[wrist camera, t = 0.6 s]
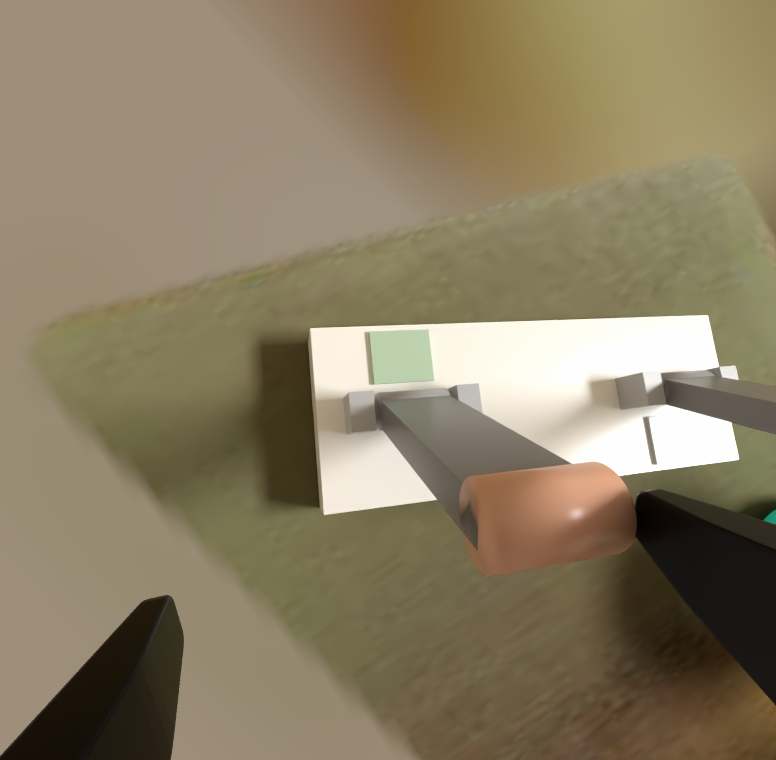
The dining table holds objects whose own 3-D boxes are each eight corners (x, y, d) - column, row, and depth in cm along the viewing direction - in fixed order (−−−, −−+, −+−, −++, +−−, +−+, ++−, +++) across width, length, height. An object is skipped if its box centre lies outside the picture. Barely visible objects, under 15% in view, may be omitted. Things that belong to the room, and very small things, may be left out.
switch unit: (696, 459, 25) (775, 460, 21) (319, 507, 20) (327, 521, 16) (670, 327, 27) (740, 304, 22) (308, 342, 21) (312, 315, 17)
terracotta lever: (439, 423, 20) (632, 573, 9) (375, 429, 19) (499, 599, 8) (439, 380, 19) (641, 482, 9) (373, 384, 19) (503, 501, 8)
